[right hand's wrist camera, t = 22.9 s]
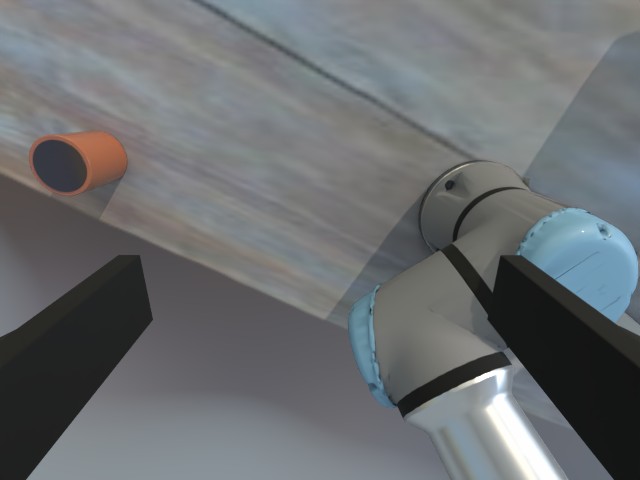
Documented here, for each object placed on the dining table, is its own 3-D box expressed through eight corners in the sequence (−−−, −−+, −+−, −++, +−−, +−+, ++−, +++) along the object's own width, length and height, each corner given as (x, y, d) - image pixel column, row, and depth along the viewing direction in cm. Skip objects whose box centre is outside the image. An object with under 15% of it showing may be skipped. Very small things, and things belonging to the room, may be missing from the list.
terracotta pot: (132, 182, 48) (97, 196, 41) (82, 182, 48) (38, 196, 41) (121, 130, 46) (82, 134, 38) (69, 130, 46) (19, 134, 38)
